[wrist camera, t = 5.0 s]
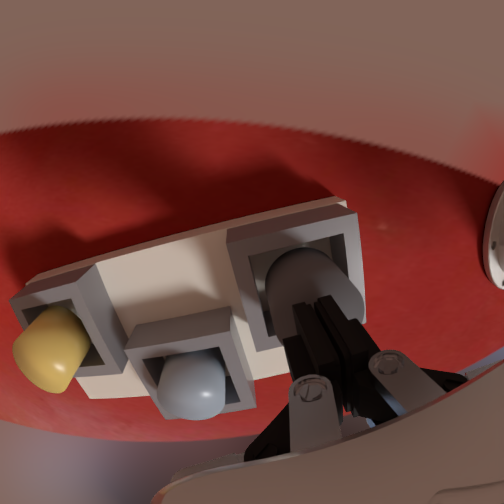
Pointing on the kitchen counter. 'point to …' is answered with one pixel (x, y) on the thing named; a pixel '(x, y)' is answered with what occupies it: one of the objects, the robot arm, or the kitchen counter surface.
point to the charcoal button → (307, 287)
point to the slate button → (193, 384)
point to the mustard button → (52, 348)
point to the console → (191, 298)
